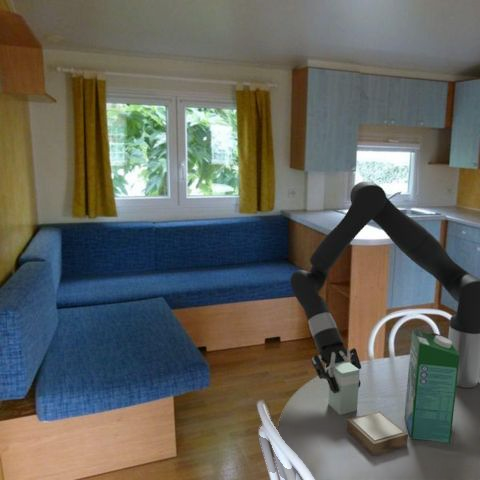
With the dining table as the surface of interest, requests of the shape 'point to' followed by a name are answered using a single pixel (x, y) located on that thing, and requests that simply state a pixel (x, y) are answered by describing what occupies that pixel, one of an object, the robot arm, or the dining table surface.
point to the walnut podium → (377, 433)
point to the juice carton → (345, 388)
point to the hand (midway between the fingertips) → (347, 389)
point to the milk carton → (431, 387)
